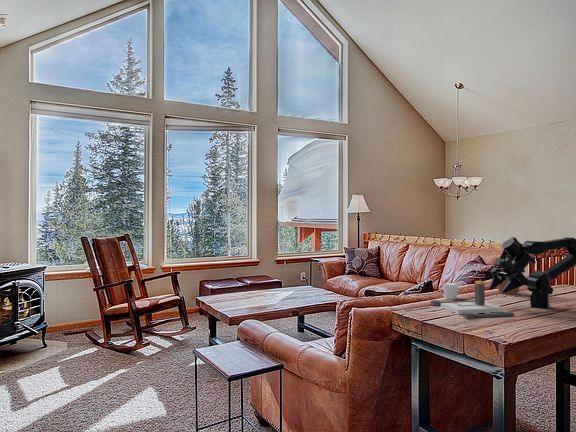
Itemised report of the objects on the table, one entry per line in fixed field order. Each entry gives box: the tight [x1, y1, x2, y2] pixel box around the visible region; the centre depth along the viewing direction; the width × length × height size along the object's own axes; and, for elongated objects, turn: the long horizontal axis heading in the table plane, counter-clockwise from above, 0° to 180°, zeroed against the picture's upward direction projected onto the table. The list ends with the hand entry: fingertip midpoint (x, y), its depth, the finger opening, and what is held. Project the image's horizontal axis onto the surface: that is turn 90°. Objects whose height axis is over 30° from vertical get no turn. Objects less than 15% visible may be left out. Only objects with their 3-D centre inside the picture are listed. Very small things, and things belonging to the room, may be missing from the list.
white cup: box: [442, 282, 459, 300], centre depth 214 cm, size 7×7×7 cm
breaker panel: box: [440, 301, 504, 315], centre depth 186 cm, size 20×14×2 cm
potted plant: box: [492, 249, 524, 296], centre depth 227 cm, size 14×14×25 cm
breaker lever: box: [474, 280, 486, 305], centre depth 187 cm, size 2×3×10 cm
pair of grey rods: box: [430, 299, 515, 320], centre depth 186 cm, size 21×28×2 cm
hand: (496, 290), depth 188 cm, fingers open, 9 cm apart
